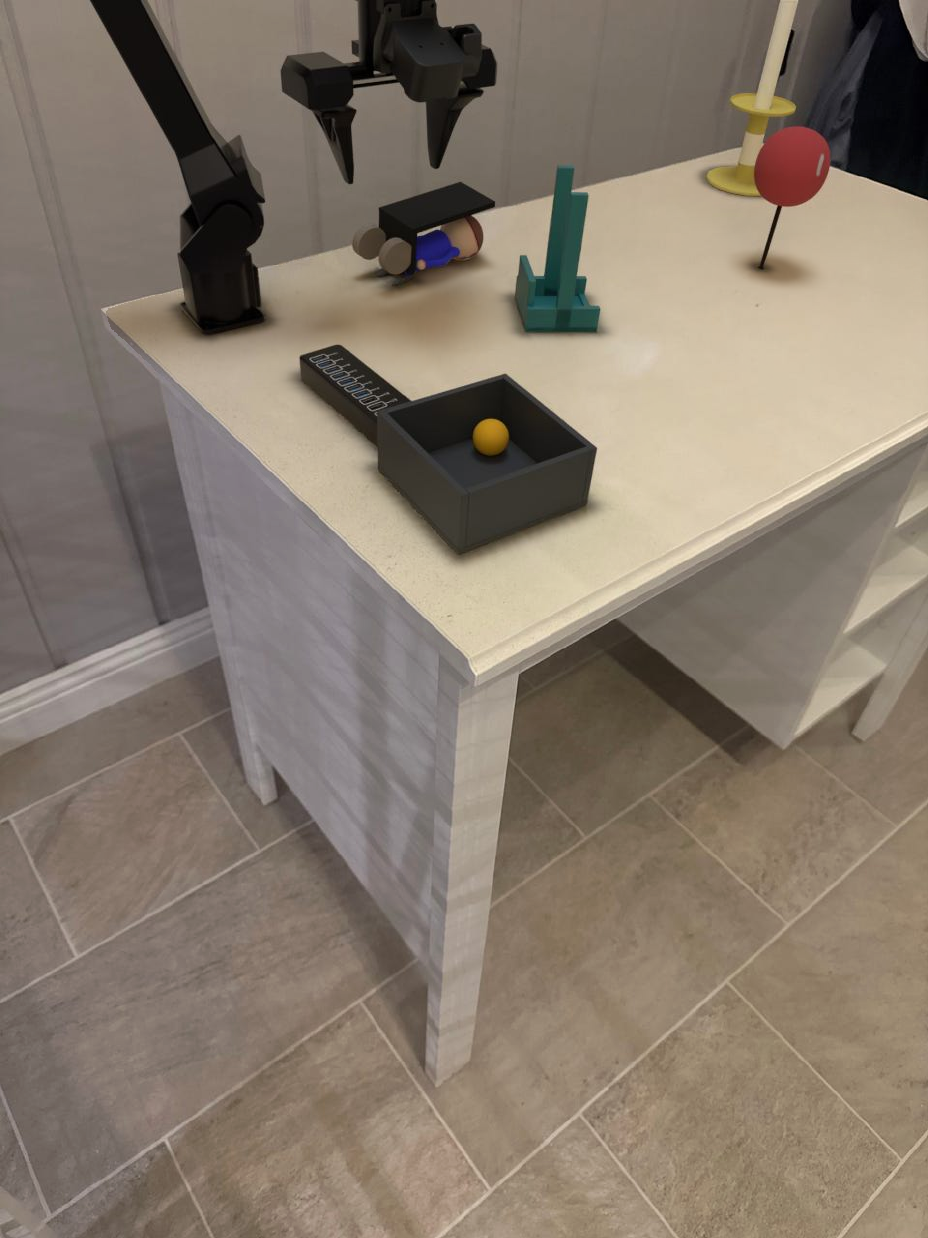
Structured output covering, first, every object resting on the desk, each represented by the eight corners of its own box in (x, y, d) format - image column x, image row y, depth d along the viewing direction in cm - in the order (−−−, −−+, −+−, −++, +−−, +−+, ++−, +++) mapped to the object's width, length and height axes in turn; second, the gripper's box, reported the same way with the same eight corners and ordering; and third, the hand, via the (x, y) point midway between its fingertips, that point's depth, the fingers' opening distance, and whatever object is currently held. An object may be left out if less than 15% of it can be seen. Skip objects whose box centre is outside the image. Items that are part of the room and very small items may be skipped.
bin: (458, 555, 68) (462, 495, 64) (377, 469, 75) (376, 410, 71) (586, 505, 73) (597, 447, 69) (500, 429, 80) (505, 372, 76)
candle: (766, 201, 121) (836, -47, 102) (695, 183, 125) (749, -61, 106) (788, 179, 128) (857, -58, 109) (720, 163, 131) (775, -71, 112)
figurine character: (392, 310, 97) (497, 260, 103) (385, 241, 92) (497, 193, 98) (355, 286, 101) (459, 239, 107) (346, 218, 95) (457, 173, 101)
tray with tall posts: (525, 332, 93) (540, 194, 83) (514, 298, 98) (527, 164, 88) (596, 331, 94) (620, 195, 84) (582, 298, 99) (602, 165, 89)
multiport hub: (340, 364, 86) (339, 342, 85) (430, 439, 78) (431, 415, 77) (299, 378, 84) (297, 355, 83) (388, 455, 76) (387, 432, 75)
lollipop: (723, 274, 105) (760, 132, 94) (735, 248, 110) (771, 111, 99) (790, 288, 103) (836, 146, 93) (799, 262, 108) (843, 124, 98)
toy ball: (479, 456, 78) (468, 422, 77) (513, 446, 77) (503, 411, 76) (478, 463, 75) (467, 427, 74) (513, 452, 74) (502, 416, 74)
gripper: (335, 6, 66) (343, 224, 77) (542, -13, 74) (523, 188, 85) (269, -27, 73) (286, 179, 84) (467, -41, 80) (458, 150, 91)
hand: (392, 174), depth 86 cm, fingers open, 9 cm apart
